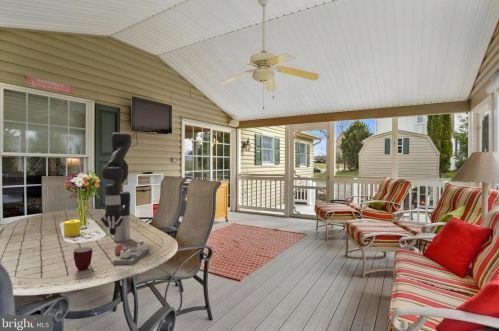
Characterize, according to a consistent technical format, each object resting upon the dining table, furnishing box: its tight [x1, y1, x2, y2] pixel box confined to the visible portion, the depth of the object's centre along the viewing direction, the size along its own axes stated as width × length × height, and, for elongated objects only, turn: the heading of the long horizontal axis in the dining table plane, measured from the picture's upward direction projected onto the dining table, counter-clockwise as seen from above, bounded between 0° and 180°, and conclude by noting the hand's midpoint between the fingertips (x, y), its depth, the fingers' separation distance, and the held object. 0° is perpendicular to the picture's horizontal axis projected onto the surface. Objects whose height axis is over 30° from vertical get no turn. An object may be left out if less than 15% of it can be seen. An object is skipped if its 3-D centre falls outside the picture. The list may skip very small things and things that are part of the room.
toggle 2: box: [136, 240, 147, 251], centre depth 163 cm, size 4×3×4 cm
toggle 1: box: [120, 247, 130, 258], centre depth 151 cm, size 4×3×4 cm
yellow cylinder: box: [63, 219, 81, 237], centre depth 202 cm, size 10×10×9 cm
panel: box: [113, 246, 149, 266], centre depth 157 cm, size 10×22×3 cm, turn 178°
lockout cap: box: [114, 243, 124, 257], centre depth 162 cm, size 4×4×6 cm
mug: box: [73, 246, 93, 272], centre depth 140 cm, size 11×8×10 cm
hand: (112, 234), depth 151 cm, fingers closed
